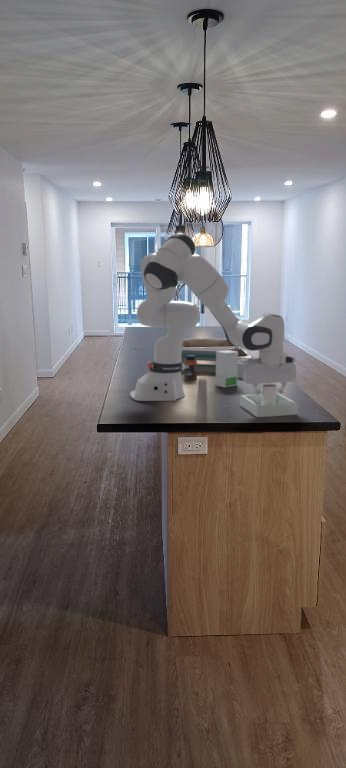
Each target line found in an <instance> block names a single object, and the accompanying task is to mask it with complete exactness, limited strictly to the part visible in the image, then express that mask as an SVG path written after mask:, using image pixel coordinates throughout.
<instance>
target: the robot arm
mask: <svg viewBox="0 0 346 768" xmlns="http://www.w3.org/2000/svg"><path fill="white" fill-rule="evenodd" d="M196 251H197V250H196V244H195V242H194V241H193V239H192V238H191V236H188V235H187V234H185V233H182V232H176V233H174V234H172V235H171V236H170V237H168V238H167V241H165V242H164V243H163V244H162V245H161V246H160V247H159V248H158V249H157V251H156V252H151V253H148V254H146V255H145V256H144V257H143V258H142V260H141V263H140V271H141V278H142V283H143V285H144V289H145V292H146V299H145V300H143V301H142V302H140V303H139V304H138V307H137V310H136V317H137V320H138V322H139V323H140V324H141V326H142V325H143V326H146V327H150V328H161V329H163V328H164V329H168V331H167V334H166V335H164V336H161V337H160V338H158V339H157V340H156V341H155V343H154V350H153V351H154V354H153V355H154V361H152V362H151V361H147V362H146V366H147V367H149V370H148V372H146V373H145V374H144V375H142V376H141V377H140V378H138V379H137V381H136V383H135V384H136V385H135V389H134V390H132V391H130V394H129V396H130V398H131V399H132V400H135V401H138V402H155V401H156V402H168V401H169V402H171V401H174V402H175V401H177V400H179V399H181V398H184V397H185V395H186V394H185V392H184V391H185V390H184V387H183V386H184V385H183V378H182V375H183V372H184V371H183V370H184V368H183V367H184V366H183V365H184V364H183V363H182V362H181V356H182V355H183V353H182V347H183V343H184V340H185V338H186V336H187V334H188V333H189V332H190V331H191V330H192V329H193V328H195V327H196V326H197V325H199V322H200V319H201V310H200V309H199V306H198V305H197V304H196V303H194V302H190V301H186V300H174V298H175V296H176V293H177V289H176V287H177V286H178V282H182V283H183V284H185V285H186V286H187V287H188V288H189V290H190V291H191V292H192V293H193V295H194V296H195V297H196V298H197V299H198V300H199V301H200V302H201V303H202V304H203V306H205V307H206V308H207V309H208V310H209V312H210V313H211V314H212V315H213V317H214V318H215V319H216V321H217V322H218V323H219V325H220V326H221V328H222V329H223V332H224V334H225V338H226V341H227V342H228V343H229V344H230V345H231V346H233V347H235V348H241V349H243V350H247V351H251V352H252V351H253V352H254V351H258V357H255V358H251V357H249V358H250V359H248V360H246V361H245V362H244V374H243V378H242V380H243V382H244V383H246V384H248V385H251V386H252V389H253V390H254V395H260V394H261V389H258V388H257V387H258V385H259V384H275V383H280V384H281V385H280V387H277V393H279V394H281V395H283V393H284V390H285V388H286V387H287V383H289V382H290V383H292V382H295V381H296V379H297V366H296V364H295V363H296V359H297V358H295V356H292V355H289V354H288V353H285V352H284V346H283V345H284V341H285V320H284V318H283V316H281V315H278V314H273V313H267V312H266V313H265V312H264V313H263V314H262V315H261V316H260V317H259V318H258V319H256V320H253V321H251V322H247V321H245V320H242V319H241V318H238V316H236V315H235V313H234V311H232V309H231V308H230V306H229V305H228V303H227V302H226V300H227V298H228V295H229V286H228V284H227V282H226V280H225V279H224V277H223V276H222V275H221V274H220V272H219V271H218V270H217V268H215V267H214V266H213V265H212V264H211V262H210V261H208V260H207V259H206V258H205V257H203V256H202V255H201V254H198V253H195V252H196Z"/></svg>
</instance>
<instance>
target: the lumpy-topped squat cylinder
mask: <svg viewBox="0 0 346 768" xmlns="http://www.w3.org/2000/svg"><path fill="white" fill-rule="evenodd" d="M250 358H251V357H247V358H240V359H238V370H237V379H243V374H244V362H245V361H246V360H248V359H250Z"/></svg>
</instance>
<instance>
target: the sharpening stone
mask: <svg viewBox="0 0 346 768" xmlns="http://www.w3.org/2000/svg"><path fill="white" fill-rule="evenodd" d="M226 350H230V351H231V349H228V348H206V347H205V348H204V347H185V346H184V347H183V346H182V354H181V362H182V365H184V361H185V360H186V359H187V358H186V356H187V355H195V360H196V361H203V362H216V351H226ZM197 373H210V374H211V373H212V374H216V363H214V364H212V363H197Z"/></svg>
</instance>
